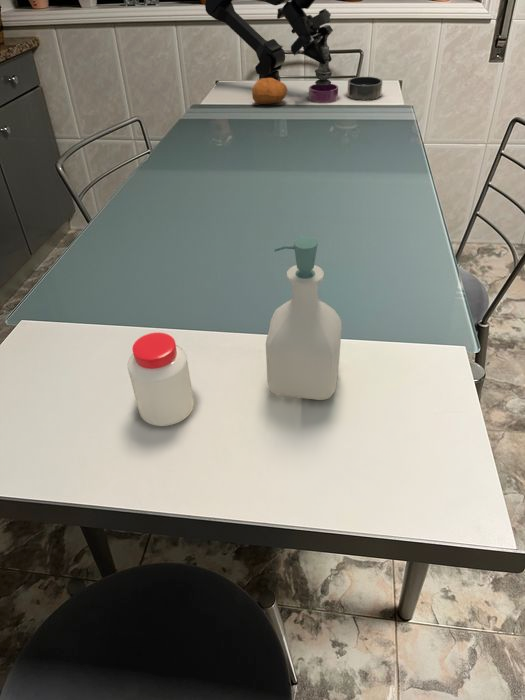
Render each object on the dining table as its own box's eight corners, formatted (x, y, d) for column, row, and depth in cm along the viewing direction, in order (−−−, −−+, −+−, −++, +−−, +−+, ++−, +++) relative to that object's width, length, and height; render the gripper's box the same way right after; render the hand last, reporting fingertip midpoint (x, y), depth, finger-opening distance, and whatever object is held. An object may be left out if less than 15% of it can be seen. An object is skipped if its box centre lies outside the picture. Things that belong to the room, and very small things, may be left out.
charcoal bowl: (342, 98, 184) (343, 84, 181) (352, 89, 192) (353, 75, 189) (375, 101, 180) (377, 87, 177) (384, 92, 188) (386, 77, 185)
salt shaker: (315, 80, 185) (316, 39, 177) (332, 80, 184) (335, 39, 176) (313, 85, 180) (314, 43, 173) (331, 85, 179) (333, 44, 172)
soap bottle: (276, 356, 85) (273, 220, 70) (339, 362, 83) (349, 224, 69) (265, 400, 78) (258, 259, 63) (333, 407, 76) (342, 264, 62)
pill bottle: (198, 387, 80) (189, 327, 73) (188, 427, 74) (176, 366, 67) (146, 385, 81) (132, 326, 74) (132, 424, 75) (115, 364, 68)
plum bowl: (304, 101, 183) (304, 90, 181) (314, 93, 190) (314, 82, 188) (332, 103, 180) (332, 92, 178) (341, 95, 187) (342, 84, 185)
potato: (256, 98, 188) (255, 74, 183) (289, 99, 186) (289, 75, 181) (250, 107, 181) (249, 82, 176) (284, 107, 179) (284, 83, 174)
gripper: (300, 5, 163) (331, 50, 165) (329, -5, 175) (358, 38, 177) (277, 33, 171) (307, 76, 174) (306, 22, 183) (334, 62, 186)
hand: (327, 62), depth 177 cm, fingers closed on salt shaker, 3 cm apart
